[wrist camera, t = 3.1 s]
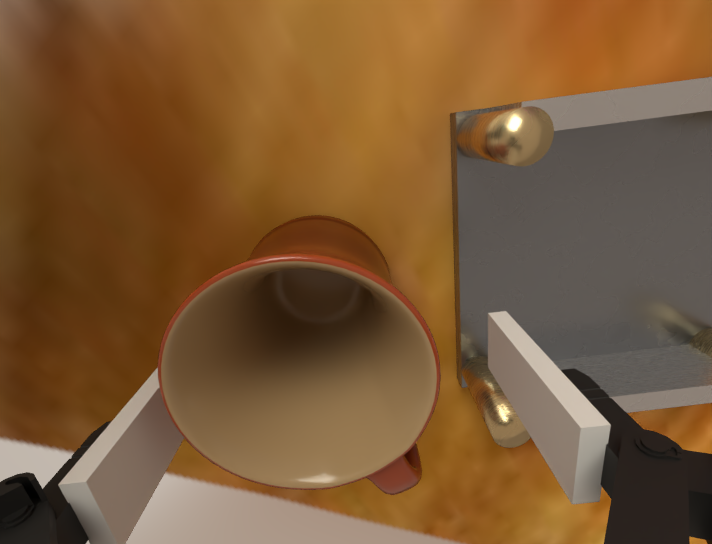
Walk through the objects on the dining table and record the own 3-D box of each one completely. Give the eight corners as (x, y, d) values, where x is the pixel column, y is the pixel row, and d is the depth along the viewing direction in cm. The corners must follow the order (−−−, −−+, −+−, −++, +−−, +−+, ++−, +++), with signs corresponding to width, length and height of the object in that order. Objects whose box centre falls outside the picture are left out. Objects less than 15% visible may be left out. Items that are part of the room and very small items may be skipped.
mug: (211, 250, 20) (92, 355, 11) (343, 163, 19) (343, 192, 9) (330, 396, 24) (322, 570, 14) (448, 333, 23) (525, 479, 13)
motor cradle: (457, 377, 24) (492, 452, 18) (450, 113, 18) (498, 103, 12) (702, 347, 23) (815, 414, 18) (773, 71, 18) (971, 41, 12)
